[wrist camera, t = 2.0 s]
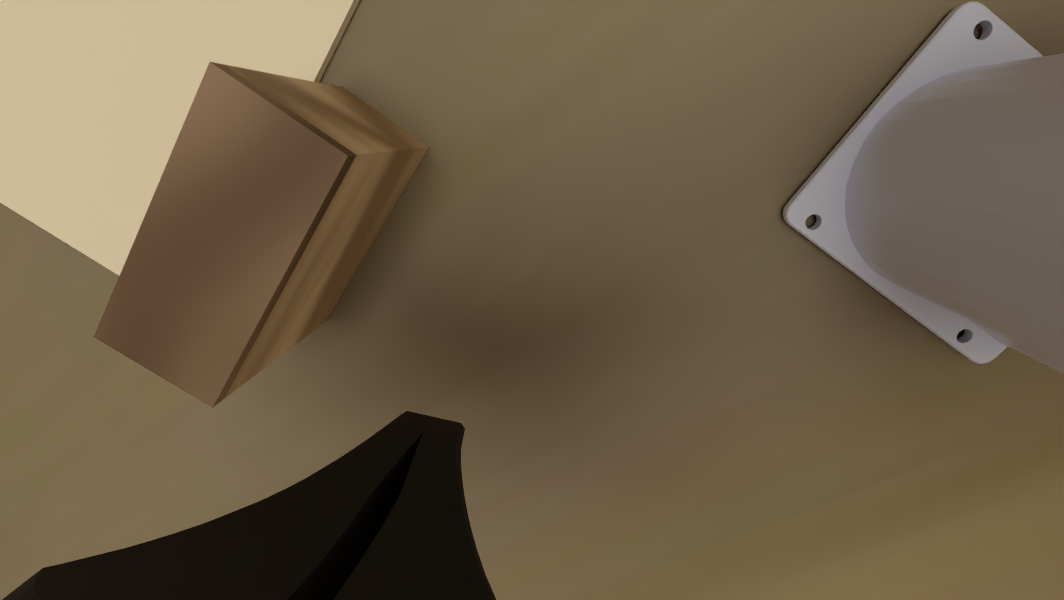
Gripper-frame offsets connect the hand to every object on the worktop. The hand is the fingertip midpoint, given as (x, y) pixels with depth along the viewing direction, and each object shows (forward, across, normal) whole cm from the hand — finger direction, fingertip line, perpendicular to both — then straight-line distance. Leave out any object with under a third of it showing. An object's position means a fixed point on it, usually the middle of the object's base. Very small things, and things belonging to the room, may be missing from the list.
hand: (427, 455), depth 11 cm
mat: (+9, +14, -6) cm, 18 cm away
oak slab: (+9, +6, -3) cm, 12 cm away
